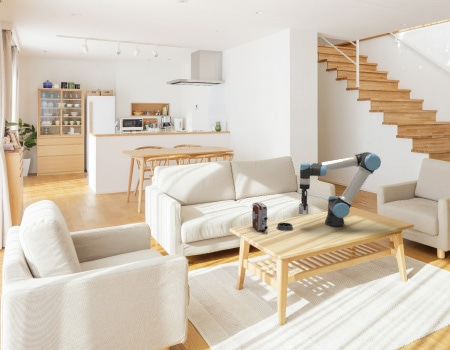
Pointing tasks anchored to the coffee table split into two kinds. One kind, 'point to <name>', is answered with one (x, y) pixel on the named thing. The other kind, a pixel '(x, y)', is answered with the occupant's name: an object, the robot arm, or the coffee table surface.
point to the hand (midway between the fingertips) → (303, 212)
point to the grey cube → (302, 209)
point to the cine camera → (259, 217)
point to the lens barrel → (284, 227)
